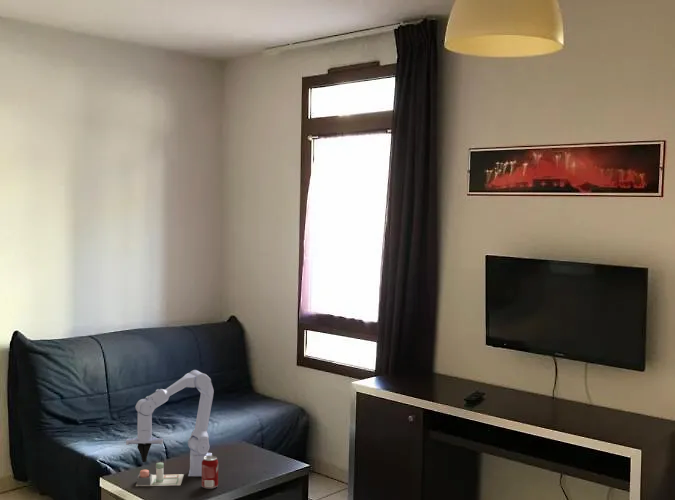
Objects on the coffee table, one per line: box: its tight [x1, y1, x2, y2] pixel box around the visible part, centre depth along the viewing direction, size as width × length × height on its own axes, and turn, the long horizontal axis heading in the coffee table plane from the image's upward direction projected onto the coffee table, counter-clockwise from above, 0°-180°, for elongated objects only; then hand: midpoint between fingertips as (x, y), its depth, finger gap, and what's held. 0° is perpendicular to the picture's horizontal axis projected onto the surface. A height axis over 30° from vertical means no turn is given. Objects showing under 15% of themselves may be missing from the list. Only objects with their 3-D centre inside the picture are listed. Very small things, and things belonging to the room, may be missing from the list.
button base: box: [136, 473, 153, 485], centre depth 314 cm, size 5×5×3 cm
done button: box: [139, 469, 150, 478], centre depth 314 cm, size 4×4×4 cm
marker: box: [155, 461, 165, 483], centre depth 316 cm, size 3×3×8 cm
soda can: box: [201, 455, 219, 490], centre depth 312 cm, size 7×7×12 cm
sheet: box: [135, 473, 185, 487], centre depth 318 cm, size 18×13×1 cm
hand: (144, 461), depth 313 cm, fingers closed
